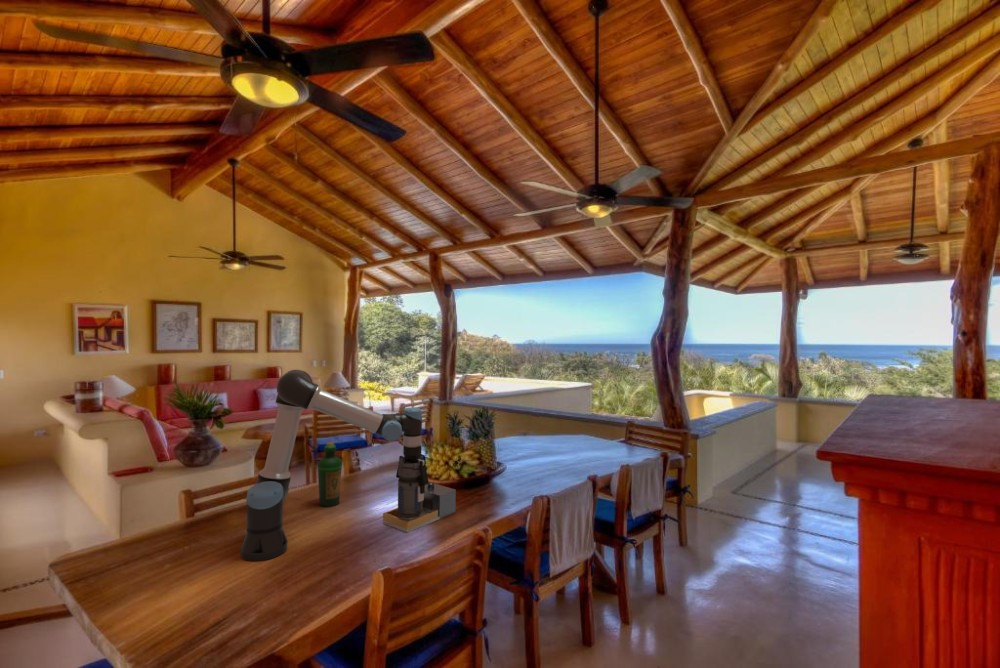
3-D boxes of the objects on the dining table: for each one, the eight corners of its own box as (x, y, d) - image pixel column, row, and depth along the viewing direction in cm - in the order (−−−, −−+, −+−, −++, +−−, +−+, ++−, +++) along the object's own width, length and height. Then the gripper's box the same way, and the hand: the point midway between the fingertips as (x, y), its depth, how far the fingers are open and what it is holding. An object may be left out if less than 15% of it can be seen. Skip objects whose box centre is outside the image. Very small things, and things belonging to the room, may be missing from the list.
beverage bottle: (431, 512, 203) (432, 453, 203) (406, 521, 193) (407, 459, 193) (416, 506, 210) (416, 449, 210) (391, 515, 200) (392, 455, 200)
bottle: (336, 508, 215) (337, 445, 214) (313, 507, 215) (314, 445, 215) (345, 500, 225) (345, 440, 225) (322, 499, 225) (323, 440, 225)
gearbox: (407, 532, 190) (407, 502, 190) (382, 523, 199) (383, 494, 199) (455, 512, 212) (455, 485, 212) (431, 504, 221) (431, 478, 221)
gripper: (438, 447, 197) (437, 501, 197) (401, 439, 211) (400, 490, 211) (424, 451, 191) (424, 506, 192) (387, 442, 205) (387, 494, 205)
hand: (411, 498), depth 201 cm, fingers closed on beverage bottle, 10 cm apart
